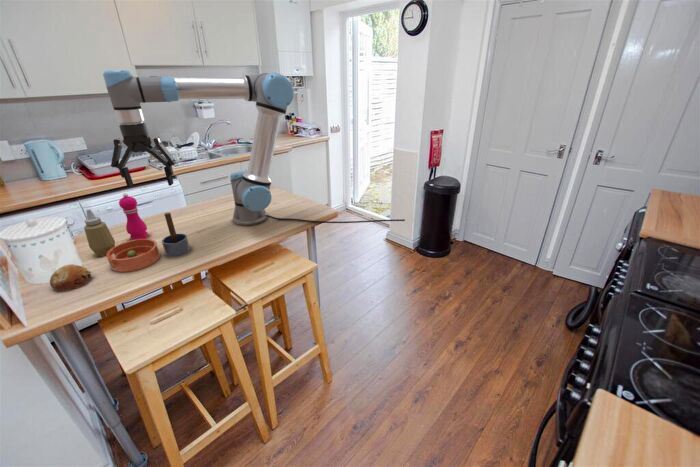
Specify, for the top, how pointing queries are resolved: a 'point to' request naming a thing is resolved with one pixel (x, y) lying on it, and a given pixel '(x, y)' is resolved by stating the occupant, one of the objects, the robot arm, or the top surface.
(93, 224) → the squeeze bottle
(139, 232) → the pepper mill
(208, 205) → the top surface
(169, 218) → the stick
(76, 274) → the bread roll
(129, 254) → the bead
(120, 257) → the bowl
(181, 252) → the utensil pot
